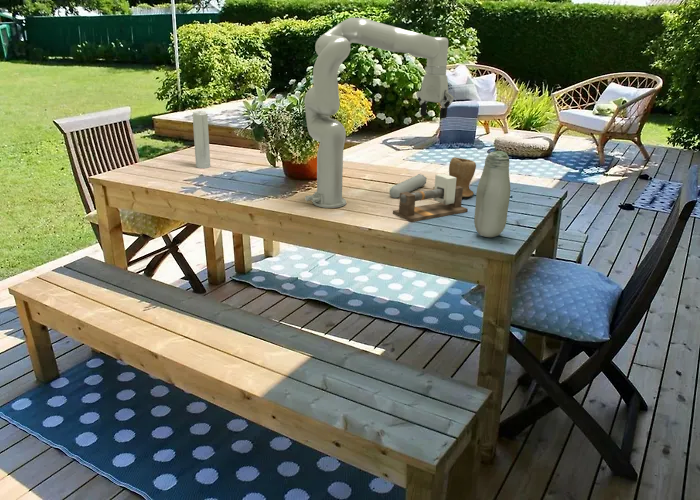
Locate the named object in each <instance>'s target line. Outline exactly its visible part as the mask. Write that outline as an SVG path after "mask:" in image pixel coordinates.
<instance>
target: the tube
mask: <svg viewBox="0 0 700 500" xmlns="http://www.w3.org/2000/svg"><path fill="white" fill-rule="evenodd" d="M426 184H427V177H426V176H425V175H424V174H421V173H418V174H417V175H415V176H413V177H412V176H411V177H409V178H408V179H406V180H404V181H401V182H399V183H397V184H394V185H392V186H391V188H390V189H389V196H391V198H394V199H398V198H399V199H400V193H402V192H409V193H412V192H414V191H415V190H417V189H420V188H422V187H424V186H425V185H426Z"/></svg>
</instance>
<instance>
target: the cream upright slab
mask: <svg viewBox="0 0 700 500" xmlns="http://www.w3.org/2000/svg"><path fill="white" fill-rule="evenodd" d="M434 178H435V179H434V186H435V188H434V190H436V189H442V188H443V189H444V197H438V198H433V201H436V202H437V203H440V202H441V203H443V204H452V203H454V201H455V189H456V177H453V176H450V175H449V174H446V173H439V174H438V173H437V174H435V176H434Z"/></svg>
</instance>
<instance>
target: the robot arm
mask: <svg viewBox="0 0 700 500" xmlns="http://www.w3.org/2000/svg"><path fill="white" fill-rule="evenodd" d="M352 43H353V44H360V45H363V46H367V47H371V48H377V49H380V50H383V51H387V52H393V53H402V54H403V53H405V54H409V55H410V56H411V57H414V58H422V59H426V66H425V67H424V71H425V72H426V73H425V74H424V75H423V78H422V82H421V89H420V90H419V91H417V92H416V93H415V94H416V98H417V101H418V102H419V103H418V104H419V106H420V110H419V111H420V113H419V115H420V116H426V115H427V114H428V113H427V111H428V104H427V103H428V102H431V103H436V104H437V103H439V104H440V105H441V107H440V114H439V119H447V115H448V113H447V112H448V108H449V107H450V105H451V104H452V103H453V101H454V98H455V97H454V96H453V95H452V94H451V93H449V81H448V75H447V69H448V68H447V64H448V53H449V51H448V50H449V38H447V37H445V36H444V37H441V36H431V35H426V34H423V33H419V32H415V31H412V30H408V29H404V28H401V27H396V26H394V25H390V24H386V23H382V22H379V21H376V20H375V21H374V20H372V19H368V18H364V17H349V18H346V19H344V20H342V21H341V22H339V23H337V25H335V26H333V27H332V28H331V29H329V30H328V31H326V32H325V33H323V34H321V35H320V36H319V38H317V39H316V42H315V45H314V47H315V49H314V50H315V53H316V55H317V58H316V60H315V63H314V65H313V70H312V79H313V80H312V82H313V86H312V87H310V88H309V89H308V90H307V91H306V94H305V97H304V111H305V120H306V126H307V131H308V134H309V136H310V137H311V138H312V139H313V140H315V141H317V142H319V146H318V149H317V153H316V155H317V156H316V163H317V164H316V191H314V193H313V194H312V195H305V197H304V199H305V201H306V202H309V201H311V202H312V204H313V205H314V206H316V207H320V208H324V209H325V208H326V209H335V208H336V209H337V208H341V207H343V206H346V205H347V200H346V199H345V198H344V197H343V180H344V179H343V178H344V177H343V173H344V170H343V169H344V168H343V167H344V148H345V143H346V136H347V135H346V134H347V133H346V128H345V127H344V125H343V124H342V123H341V121H338V120H336V119H334V118H331V116H334V115H336V114H337V113H338V111H339V110H340V94H339V85H338V84H339V83H338V82H339V81H338V71H339V68H340V67H341V65H342V64H343V62H344V61H345V60H346V59H347V58H348V56H350V52H351V44H352Z"/></svg>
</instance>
